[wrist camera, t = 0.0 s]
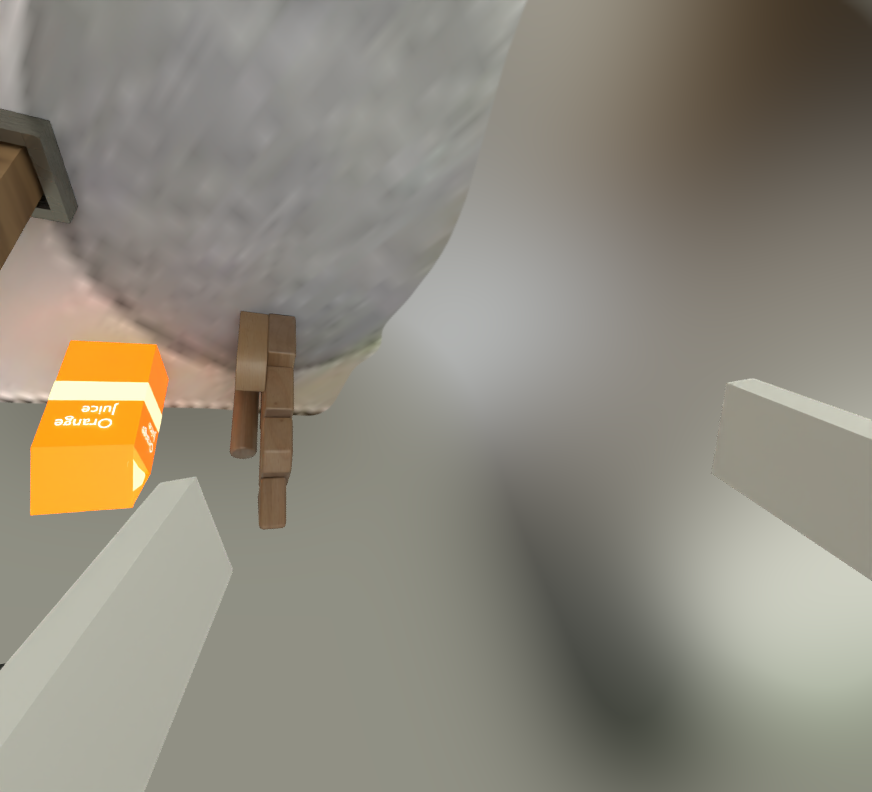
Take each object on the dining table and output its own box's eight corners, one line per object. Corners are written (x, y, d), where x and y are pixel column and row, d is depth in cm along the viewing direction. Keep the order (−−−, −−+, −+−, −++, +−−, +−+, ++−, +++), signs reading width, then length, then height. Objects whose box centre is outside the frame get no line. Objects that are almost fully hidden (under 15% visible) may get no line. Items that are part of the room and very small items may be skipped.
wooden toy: (238, 308, 49) (220, 507, 36) (295, 316, 52) (298, 503, 39) (235, 382, 60) (221, 554, 47) (283, 385, 63) (282, 548, 50)
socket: (-34, 185, 33) (-47, 203, 32) (-87, 87, 28) (-105, 103, 26) (77, 206, 36) (70, 223, 35) (49, 120, 31) (39, 136, 29)
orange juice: (169, 380, 57) (143, 519, 47) (92, 378, 54) (45, 527, 43) (156, 343, 51) (123, 493, 41) (69, 339, 48) (8, 501, 37)
